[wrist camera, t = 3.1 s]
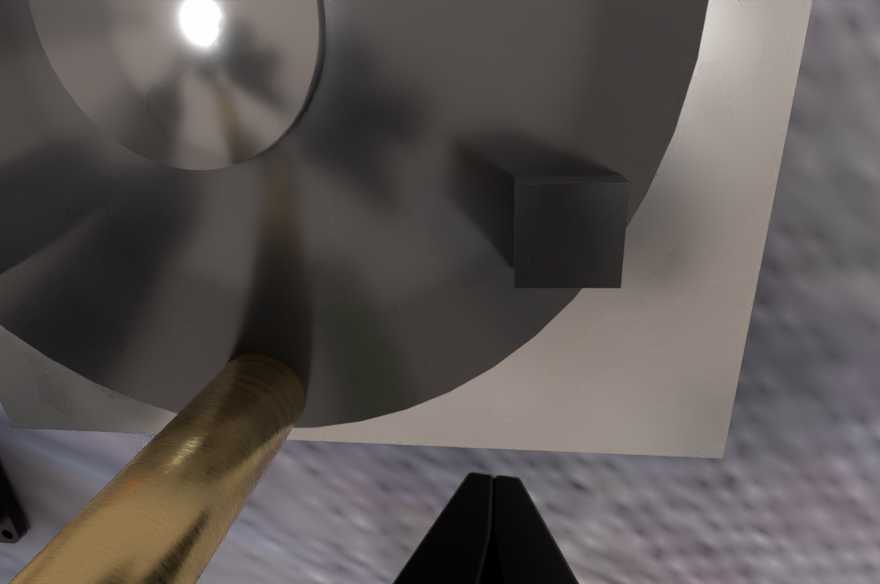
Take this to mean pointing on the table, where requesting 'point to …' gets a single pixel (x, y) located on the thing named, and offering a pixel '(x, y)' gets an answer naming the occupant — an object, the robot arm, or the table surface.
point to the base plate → (587, 294)
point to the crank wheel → (306, 218)
